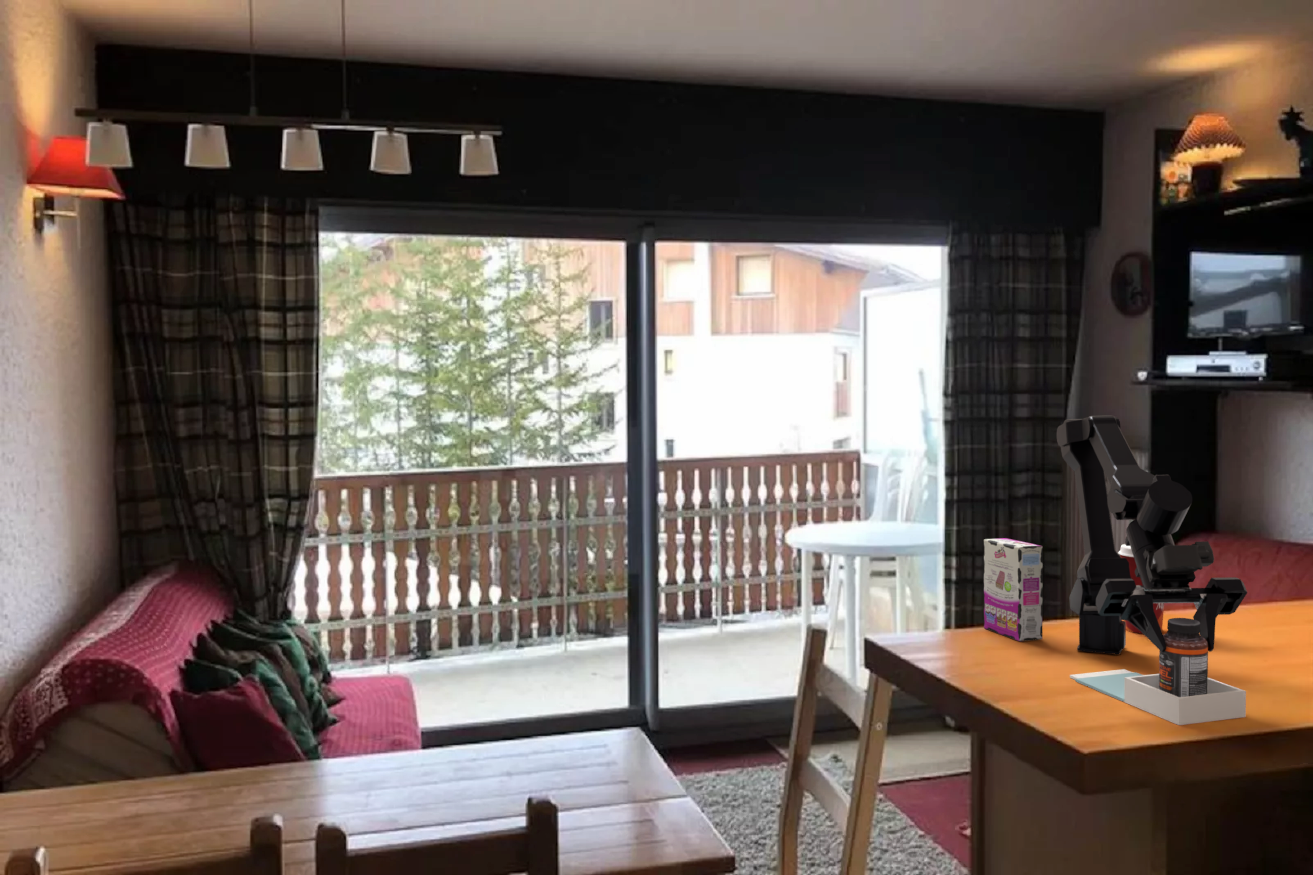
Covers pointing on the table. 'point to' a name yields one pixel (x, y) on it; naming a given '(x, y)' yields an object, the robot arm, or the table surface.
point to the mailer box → (1168, 697)
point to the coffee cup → (1158, 607)
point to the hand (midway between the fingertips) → (1187, 650)
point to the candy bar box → (1013, 588)
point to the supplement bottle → (1184, 659)
